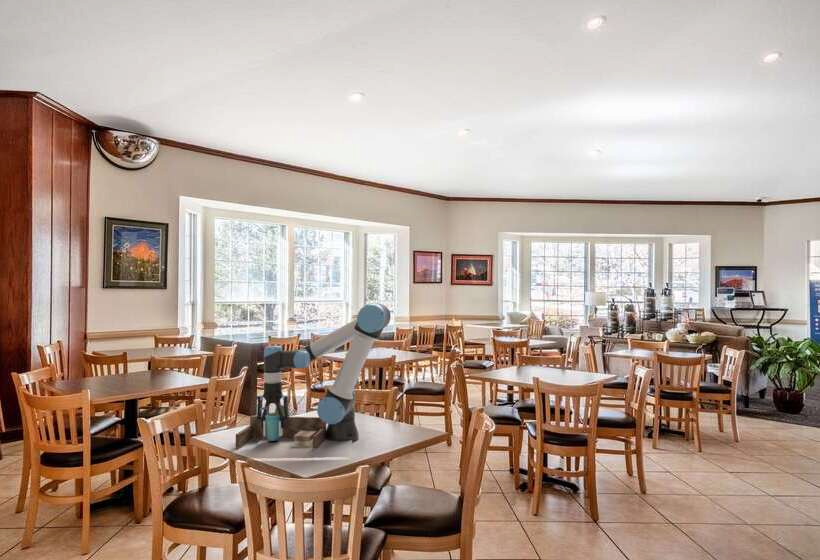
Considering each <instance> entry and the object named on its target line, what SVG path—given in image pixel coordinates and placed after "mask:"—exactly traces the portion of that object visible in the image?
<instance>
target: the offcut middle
mask: <svg viewBox="0 0 820 560" xmlns="http://www.w3.org/2000/svg"><path fill="white" fill-rule="evenodd" d="M293 443H294V446H312V447H313V439H312V440H311V441H294V440H293Z"/></svg>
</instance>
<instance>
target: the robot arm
mask: <svg viewBox="0 0 820 560" xmlns="http://www.w3.org/2000/svg"><path fill="white" fill-rule="evenodd" d="M390 321H391V312H390V309H389V308H388V307H387V305H384V304H382V303H378V302H376V303H368V304H365V305H364V306H362V307H361V308H360V309H359V311H358V313H357V315H356V319H354V320H352V321H350V322H348V323H347V324H345V325H343V326H341V327H339V328H337V329H335V330H333V331H332V332H330V333H328V334H326V335H324V336H322V337H319V339H317V340H315V341H313V342H311V343H309V344H307V345H305V346H303V347H301V348H299V349H295V350H283V348H282V346H281V345H267V346H265V347H264V350H263V382H264V383H263V394H260V395H257V396H256V399H257V408H256V410H257V411H256V416H257V419H260V420H261V427H262V428H263V436H266V435H267V431H266V420H265V415H267V411H266V409H263V410H261V411H260V410H259V409H261V408H263V400H265V404H264V407H265V406H266V407H267V408H268V410H269V409H270V405H271V404H274V405H275V407H277V410H278V413H279V417H280V421H279V436H282V435H283V430H282V428H284V426H285V419H288V418H289V417H290V412H289V398H290V396H289V395H288V394H287V395H285V394H284V393H283V387H282V385H283V383H282V380H283V379H282V378H283V376H282V375H283V373H282V370H283V369H299V370H300V369H306V368H308V367H309V365H310V364H311V363H312V362H314V361H316V360H317V359H319V358H321V357H323V356H325V355H327V354H329V353H331V352H333V351H335V350H336V349H338V348H340V347H342V346H344V345H346V344H348V343H349V342H350V345H349V347H348V350H347V352H346V354H345V357H344V359H343V361H342V363H341V365H340V368H339V370H338V372H337V376H336V377H335V379H334V381H333V382H334V383H333V384H331V385H329V386H328V387H327V389H326V391H325V393H324V396H323V398H322V399H321V400H320V401H319V403H318V404H317V409H316V411H317V415H318V416H317V417H319V418H320V419H321V420H322V421H323V422H324V423H326V436H325V440H328V441H333V442H334V441H335V442H345V441H351V442H355V441H357V440H359V432H358V431H359V430H358V428H357V425H356V418H355V417H356V416H355V415H356V406H355V405H356V404H355V403H356V392H355V391H356V389H355V386H356V384H357V381H358V379H359V377H360V375H361V371H362V369H363V367H364V366H365V363H366V361H367V358H368V356H369V354H370V352H371V349H372V347H373V345H374V342H376V341H379V340H380V337H381V336H382V333H383V331H384V329H385V328H387V326H388V325H389V324H390ZM281 400H282V401H283V406H284V413H283V410H282V407H281V405H282V404H281V403H282V402H281Z"/></svg>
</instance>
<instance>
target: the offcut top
mask: <svg viewBox="0 0 820 560" xmlns="http://www.w3.org/2000/svg"><path fill="white" fill-rule="evenodd" d="M316 433H317V431H308V430H301V431H300V432H298V433H297V434H296V435H294V438H293V442H294V441H311V440H312V439H313V436H314V435H315V434H316Z"/></svg>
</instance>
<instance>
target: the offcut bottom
mask: <svg viewBox="0 0 820 560" xmlns="http://www.w3.org/2000/svg"><path fill="white" fill-rule="evenodd" d="M290 447H291V448H313V446H294V442H293V443H292V444H291V445H290Z"/></svg>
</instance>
